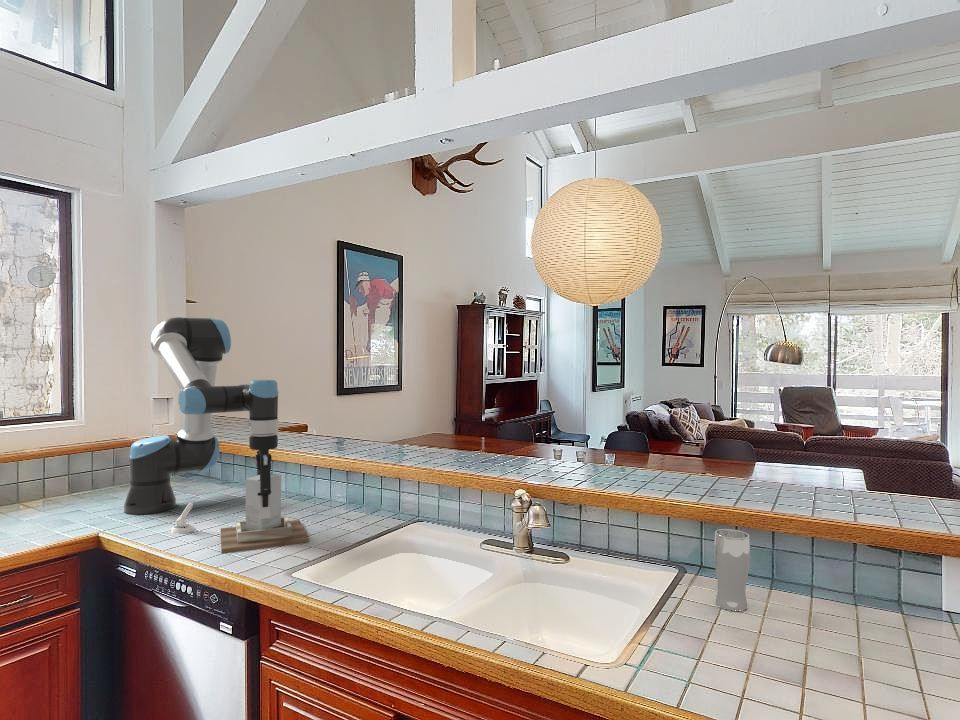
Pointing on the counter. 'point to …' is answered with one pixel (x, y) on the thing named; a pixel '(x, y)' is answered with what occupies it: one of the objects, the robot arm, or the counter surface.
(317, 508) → the counter surface
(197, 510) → the counter surface
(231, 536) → the holder board
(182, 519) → the hook
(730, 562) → the beer glass
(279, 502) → the skincare box
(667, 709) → the counter surface
